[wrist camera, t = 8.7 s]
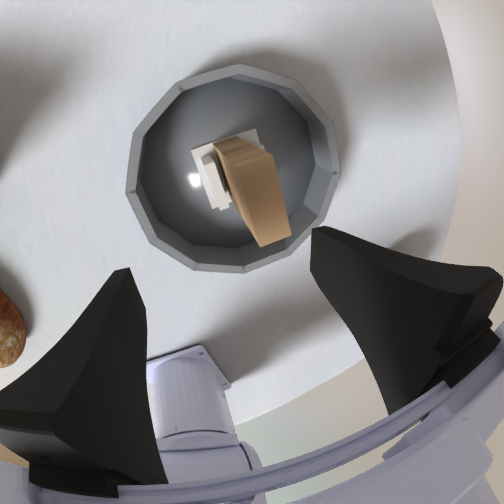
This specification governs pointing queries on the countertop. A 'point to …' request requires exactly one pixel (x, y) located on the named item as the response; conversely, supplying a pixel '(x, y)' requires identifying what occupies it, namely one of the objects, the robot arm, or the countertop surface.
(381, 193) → the countertop surface
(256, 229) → the tan wooden beam
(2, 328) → the bread roll
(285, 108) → the grey faceted hollow container
